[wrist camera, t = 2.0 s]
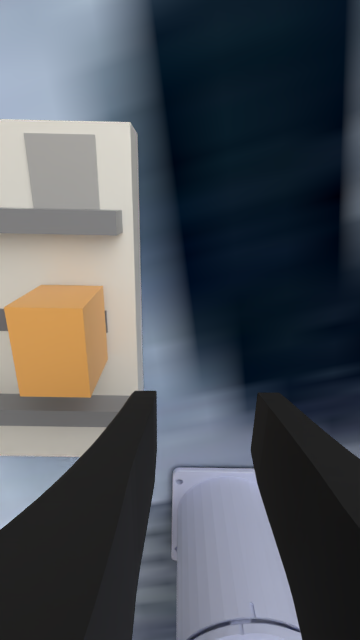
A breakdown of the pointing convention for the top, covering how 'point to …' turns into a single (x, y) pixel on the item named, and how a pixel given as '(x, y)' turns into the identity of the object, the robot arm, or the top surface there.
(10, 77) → the top surface
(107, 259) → the panel
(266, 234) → the top surface
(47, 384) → the lever
